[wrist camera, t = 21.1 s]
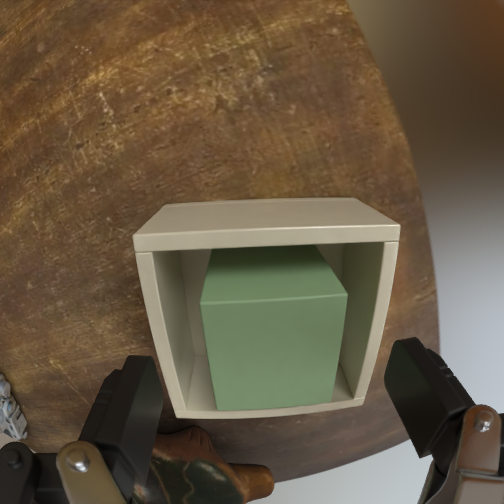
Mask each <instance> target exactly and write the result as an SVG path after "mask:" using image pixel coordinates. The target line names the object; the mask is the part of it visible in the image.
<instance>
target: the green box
mask: <svg viewBox="0 0 504 504" xmlns="http://www.w3.org/2000/svg"><path fill="white" fill-rule="evenodd" d="M347 297H348V294H347V292H346V291H345V289H344V287H343V286H342V284H341V283H340V281H339V280H338V278H337V277H336V275H335V274H334V272H333V271H332V269H331V268H330V266H329V265H328V263H327V262H326V260H325V259H324V257H323V256H322V254H321V253H320V251H319V250H318V248H317V247H316V245H315V244H312V245H288V246H264V247H241V248H219V249H212V250H211V254H210V258H209V263H208V267H207V271H206V275H205V280H204V284H203V288H202V293H201V297H200V302H199V308H200V315H201V322H202V328H203V335H204V341H205V348H206V354H207V360H208V366H209V372H210V377H211V383H212V388H213V394H214V399H215V404H216V409H217V410H219V411H220V410H252V409H268V408H281V407H292V406H301V405H310V404H318V403H325V402H330V401H331V397H332V392H333V387H334V382H335V377H336V371H337V366H338V360H339V354H340V348H341V341H342V335H343V328H344V321H345V313H346V305H347Z"/></svg>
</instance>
